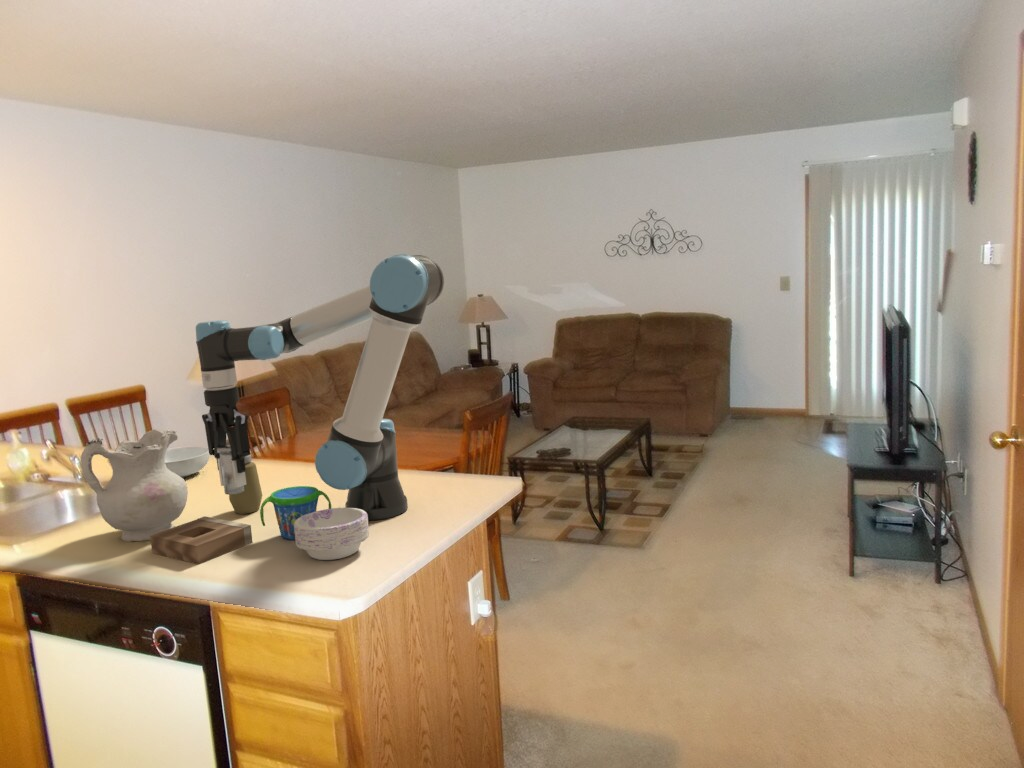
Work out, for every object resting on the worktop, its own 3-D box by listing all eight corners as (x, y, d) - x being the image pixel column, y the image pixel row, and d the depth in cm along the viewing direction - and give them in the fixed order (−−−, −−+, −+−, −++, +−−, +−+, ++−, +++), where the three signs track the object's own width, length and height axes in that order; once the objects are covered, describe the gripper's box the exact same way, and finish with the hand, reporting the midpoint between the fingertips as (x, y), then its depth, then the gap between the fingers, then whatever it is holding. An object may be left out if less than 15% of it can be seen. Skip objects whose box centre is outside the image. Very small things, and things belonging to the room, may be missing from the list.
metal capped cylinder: (250, 489, 188) (244, 444, 186) (232, 495, 184) (226, 449, 182) (236, 488, 191) (230, 443, 189) (218, 494, 186) (212, 448, 185)
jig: (252, 542, 177) (250, 525, 176) (198, 564, 165) (196, 545, 164) (206, 533, 185) (204, 516, 184) (152, 553, 173) (149, 535, 173)
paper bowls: (325, 537, 177) (322, 503, 176) (384, 543, 171) (381, 508, 170) (281, 562, 163) (277, 525, 162) (343, 569, 158) (340, 531, 156)
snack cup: (333, 523, 187) (329, 482, 185) (333, 538, 177) (329, 494, 175) (264, 532, 184) (260, 489, 182) (261, 547, 173) (256, 502, 172)
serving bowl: (151, 470, 251) (148, 449, 250) (219, 465, 253) (217, 444, 252) (127, 488, 231) (124, 465, 230) (201, 482, 233) (199, 459, 232)
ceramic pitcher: (125, 560, 173) (117, 450, 169) (71, 542, 182) (62, 437, 178) (206, 529, 192) (201, 429, 187) (154, 515, 201) (147, 419, 196)
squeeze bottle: (254, 516, 196) (246, 445, 194) (224, 515, 198) (216, 445, 195) (269, 505, 204) (262, 437, 201) (241, 505, 206) (233, 438, 203)
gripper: (182, 389, 185) (196, 486, 188) (231, 390, 176) (245, 492, 179) (210, 384, 191) (222, 478, 195) (258, 385, 182) (271, 483, 185)
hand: (233, 484), depth 187 cm, fingers closed on metal capped cylinder, 4 cm apart
